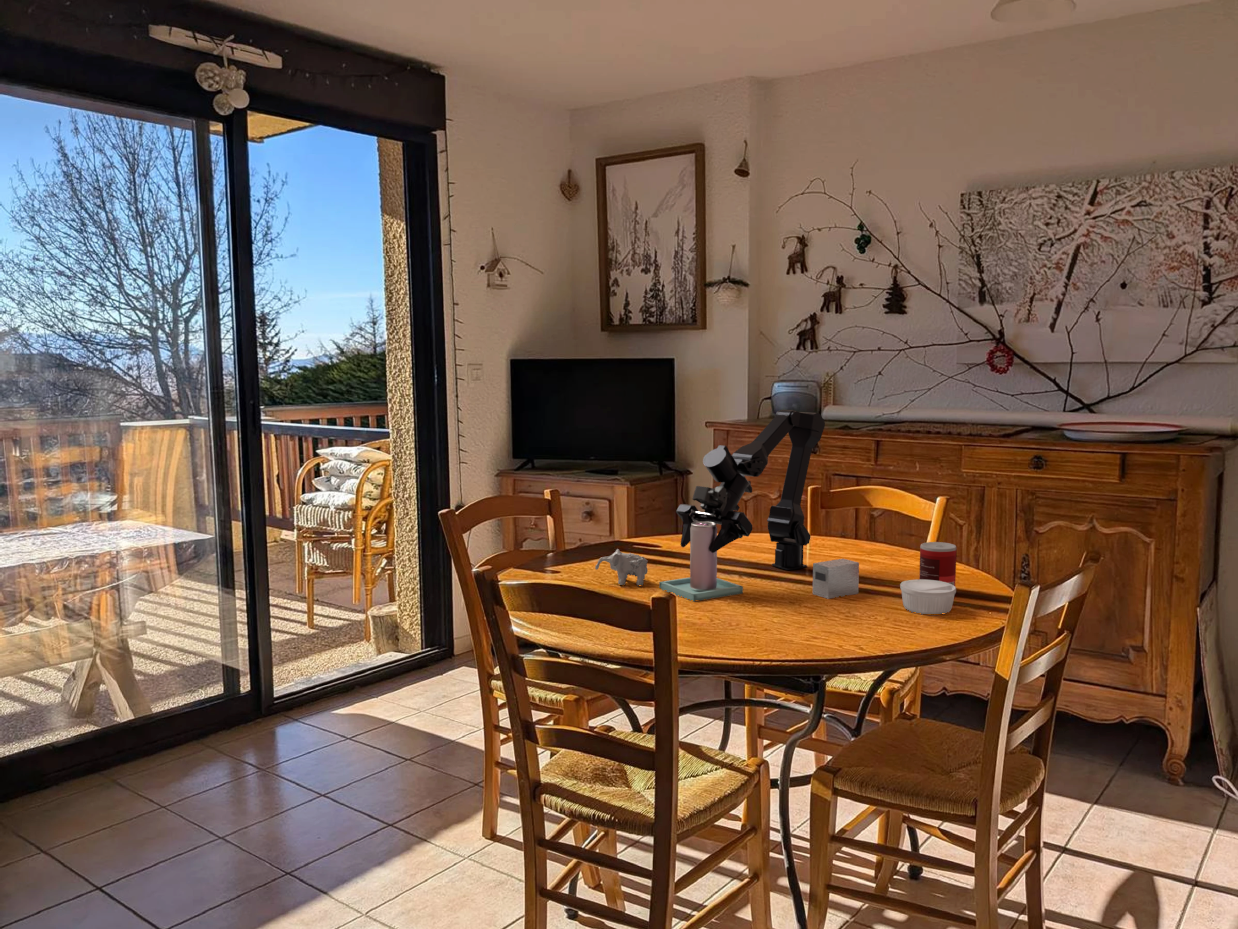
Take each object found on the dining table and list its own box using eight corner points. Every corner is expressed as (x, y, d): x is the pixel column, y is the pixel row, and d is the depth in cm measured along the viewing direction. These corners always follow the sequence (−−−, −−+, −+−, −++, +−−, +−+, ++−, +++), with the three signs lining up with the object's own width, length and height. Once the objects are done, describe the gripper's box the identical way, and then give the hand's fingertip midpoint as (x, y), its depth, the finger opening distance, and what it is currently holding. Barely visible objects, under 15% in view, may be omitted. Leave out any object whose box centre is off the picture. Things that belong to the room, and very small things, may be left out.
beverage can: (695, 585, 227) (695, 520, 225) (720, 587, 225) (720, 522, 223) (686, 590, 222) (686, 524, 220) (711, 593, 219) (712, 526, 217)
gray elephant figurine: (652, 588, 229) (653, 555, 228) (601, 588, 226) (603, 555, 225) (641, 579, 238) (642, 548, 237) (592, 579, 235) (594, 548, 234)
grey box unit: (843, 588, 225) (844, 558, 225) (859, 593, 221) (860, 562, 220) (811, 594, 221) (812, 563, 220) (827, 599, 216) (828, 567, 215)
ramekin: (947, 620, 200) (948, 594, 199) (892, 612, 206) (893, 587, 205) (961, 607, 209) (961, 583, 208) (908, 600, 215) (908, 576, 214)
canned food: (955, 591, 223) (956, 542, 221) (954, 599, 215) (956, 549, 214) (919, 588, 225) (921, 540, 224) (918, 596, 218) (919, 547, 216)
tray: (707, 581, 233) (707, 574, 233) (742, 593, 222) (742, 586, 221) (659, 588, 226) (659, 581, 226) (693, 601, 215) (693, 594, 215)
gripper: (681, 469, 230) (648, 521, 223) (745, 476, 217) (712, 532, 210) (703, 499, 236) (671, 551, 230) (766, 508, 223) (735, 563, 217)
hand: (696, 549), depth 222 cm, fingers open, 8 cm apart
